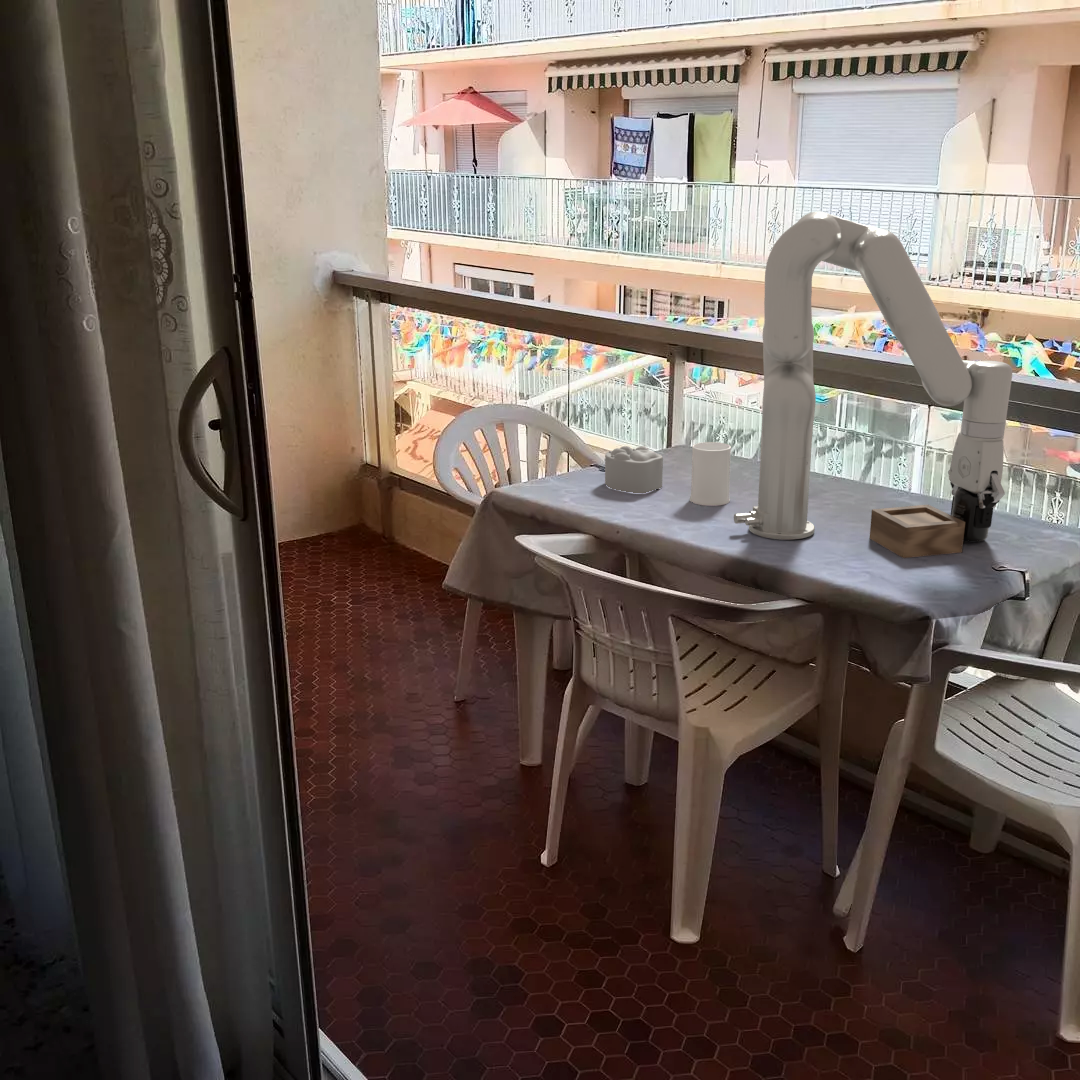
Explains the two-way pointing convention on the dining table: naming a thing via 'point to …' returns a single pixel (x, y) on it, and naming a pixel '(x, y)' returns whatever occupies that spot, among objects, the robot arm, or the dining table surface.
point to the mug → (710, 474)
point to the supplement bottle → (968, 514)
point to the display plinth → (917, 531)
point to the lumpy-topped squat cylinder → (633, 469)
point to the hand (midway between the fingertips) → (970, 520)
